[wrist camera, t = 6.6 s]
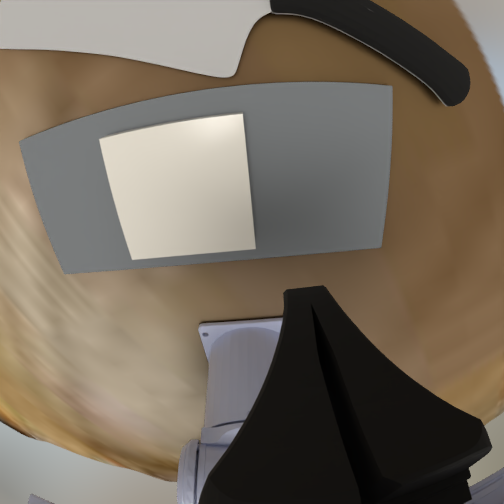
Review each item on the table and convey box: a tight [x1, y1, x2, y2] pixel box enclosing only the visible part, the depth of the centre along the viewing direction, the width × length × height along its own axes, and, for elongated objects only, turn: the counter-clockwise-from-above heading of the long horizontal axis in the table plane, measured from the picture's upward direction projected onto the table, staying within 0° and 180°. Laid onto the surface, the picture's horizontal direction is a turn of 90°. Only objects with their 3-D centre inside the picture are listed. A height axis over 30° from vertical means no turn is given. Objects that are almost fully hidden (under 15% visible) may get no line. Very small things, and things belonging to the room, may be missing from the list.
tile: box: [99, 112, 256, 260], centre depth 17 cm, size 8×1×8 cm
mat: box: [19, 82, 392, 274], centre depth 18 cm, size 11×24×1 cm, turn 95°
